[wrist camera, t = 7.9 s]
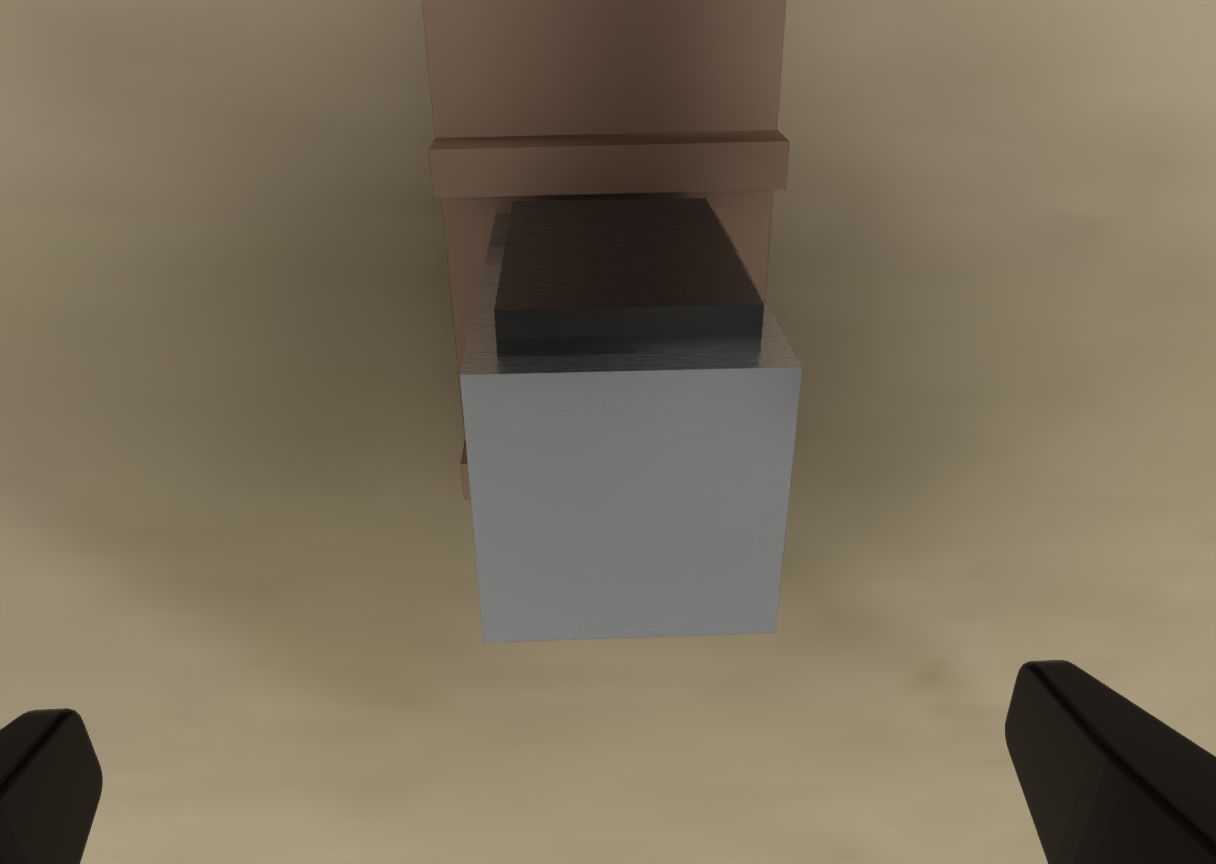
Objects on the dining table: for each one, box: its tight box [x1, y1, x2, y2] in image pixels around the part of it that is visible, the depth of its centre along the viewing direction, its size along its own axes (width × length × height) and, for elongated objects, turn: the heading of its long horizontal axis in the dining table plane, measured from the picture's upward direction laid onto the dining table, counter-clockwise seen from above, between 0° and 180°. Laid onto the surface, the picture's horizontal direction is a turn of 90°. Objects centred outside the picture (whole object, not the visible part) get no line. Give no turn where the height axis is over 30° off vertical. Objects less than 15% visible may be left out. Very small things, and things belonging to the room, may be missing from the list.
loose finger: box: [460, 198, 803, 643], centre depth 15 cm, size 5×4×7 cm
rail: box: [422, 0, 789, 499], centre depth 13 cm, size 6×21×8 cm, turn 1°
